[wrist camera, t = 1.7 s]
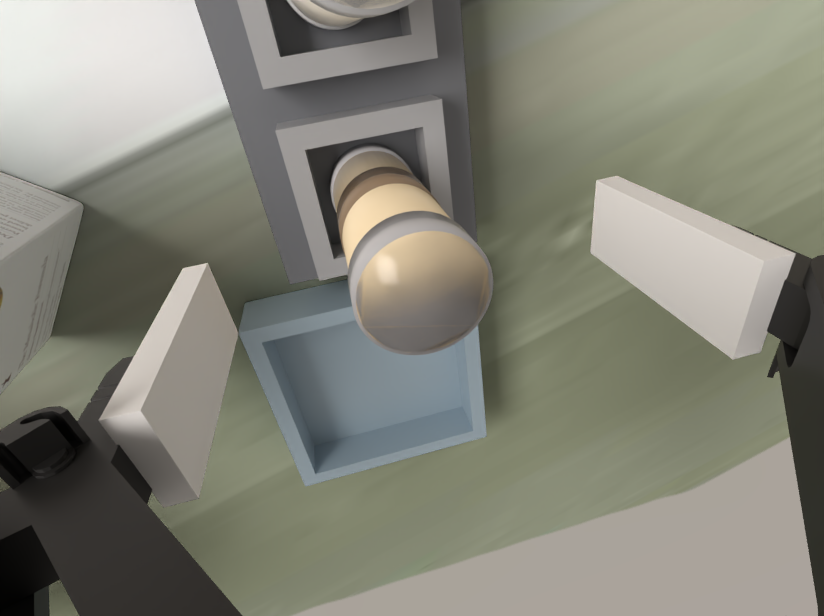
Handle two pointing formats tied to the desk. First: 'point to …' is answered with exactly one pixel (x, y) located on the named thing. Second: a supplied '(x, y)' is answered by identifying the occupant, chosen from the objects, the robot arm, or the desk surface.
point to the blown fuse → (405, 256)
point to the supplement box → (31, 267)
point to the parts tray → (356, 386)
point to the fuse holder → (342, 106)
